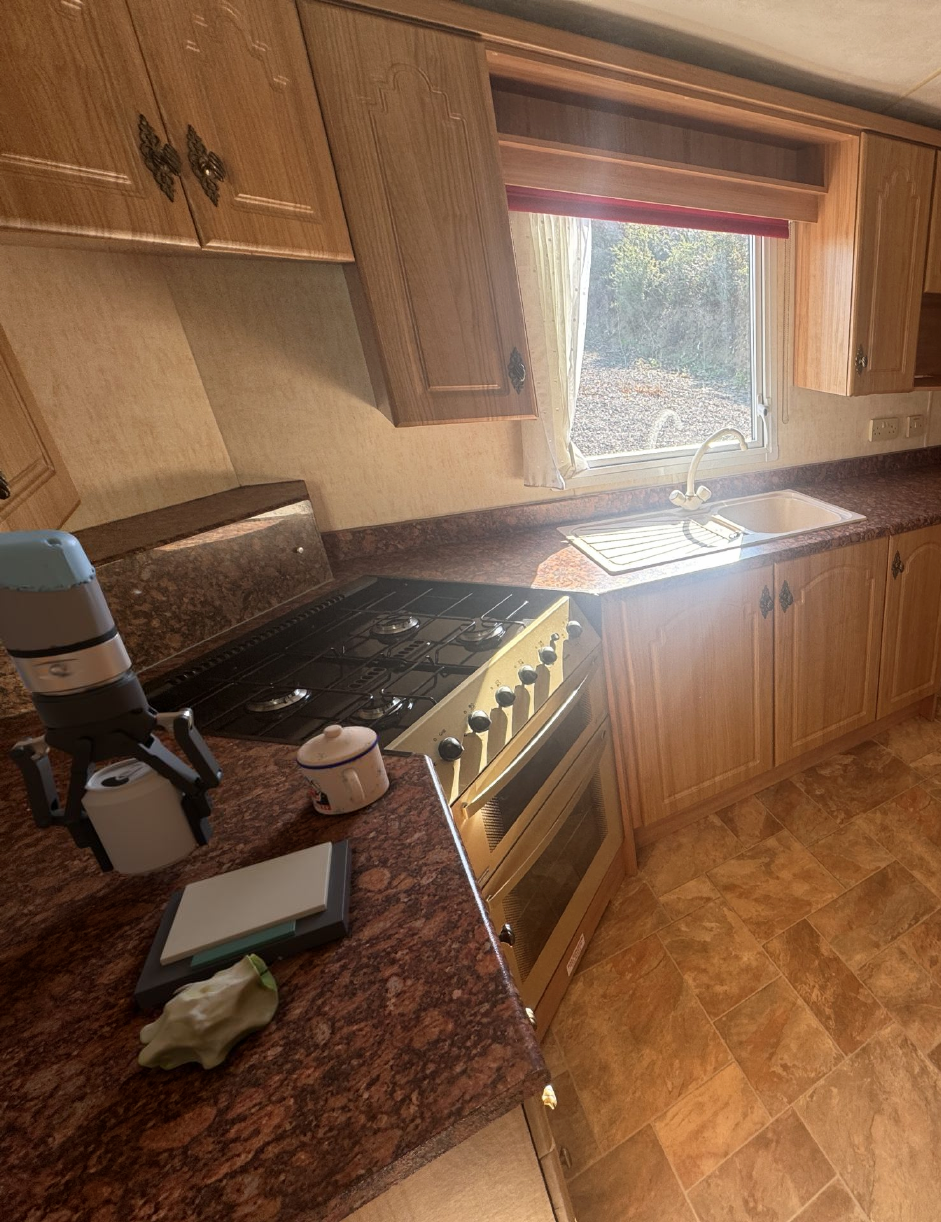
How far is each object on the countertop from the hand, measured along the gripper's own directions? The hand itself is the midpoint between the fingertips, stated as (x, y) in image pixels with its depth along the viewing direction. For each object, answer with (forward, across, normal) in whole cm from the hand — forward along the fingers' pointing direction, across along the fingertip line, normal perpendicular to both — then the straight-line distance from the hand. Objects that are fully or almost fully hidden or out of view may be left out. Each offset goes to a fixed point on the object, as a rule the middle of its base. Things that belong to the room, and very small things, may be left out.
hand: (160, 850), depth 75 cm
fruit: (+3, +9, -28) cm, 30 cm away
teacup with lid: (+3, +18, +4) cm, 19 cm away
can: (+1, 0, 0) cm, 1 cm away
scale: (+3, +10, -15) cm, 19 cm away
